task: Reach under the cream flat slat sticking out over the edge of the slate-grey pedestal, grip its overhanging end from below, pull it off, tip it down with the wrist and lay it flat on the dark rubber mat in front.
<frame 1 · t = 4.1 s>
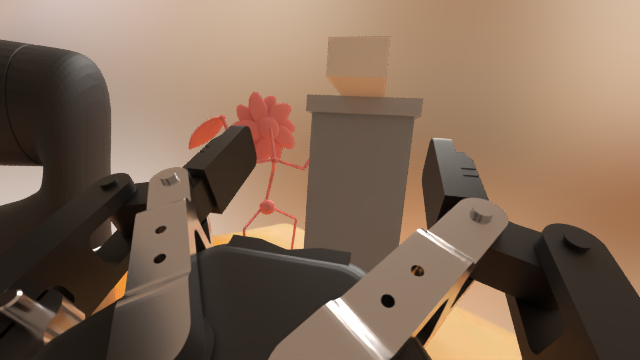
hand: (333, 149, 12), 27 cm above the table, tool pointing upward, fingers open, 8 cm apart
pedestal: (343, 343, 37), on the table
slat: (364, 101, 28), point 32 cm above the table, touching pedestal
figurine: (260, 275, 53), on the table
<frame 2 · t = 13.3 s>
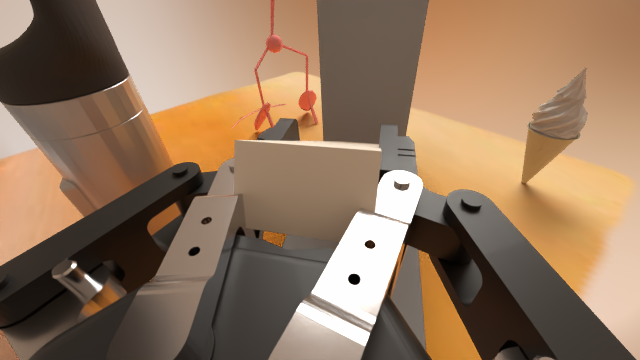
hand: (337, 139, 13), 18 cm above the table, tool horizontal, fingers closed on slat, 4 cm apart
pedestal: (363, 161, 42), on the table
mat: (343, 285, 26), on the table
ice cream cone: (522, 183, 36), on the table
slat: (345, 180, 18), point 13 cm above the table, tilted 30°, touching gripper
figurine: (281, 119, 56), on the table
when the fingers open (12 cm above the table, at t = 14.8 s): slat drops 6 cm, resting on mat.
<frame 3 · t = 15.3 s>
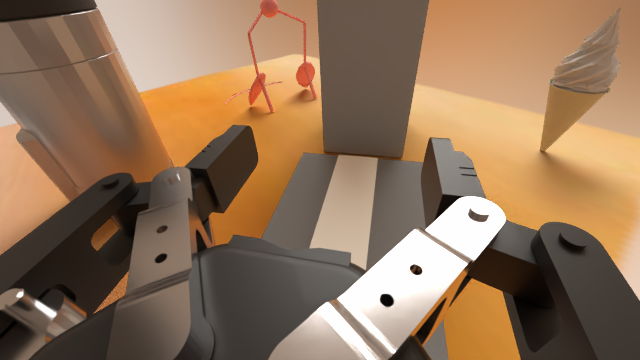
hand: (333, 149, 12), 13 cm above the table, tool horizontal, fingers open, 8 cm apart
pedestal: (365, 132, 39), on the table
mat: (343, 253, 22), on the table
ice cream cone: (541, 151, 33), on the table
slat: (340, 261, 20), point 1 cm above the table, touching mat
figurine: (277, 96, 52), on the table
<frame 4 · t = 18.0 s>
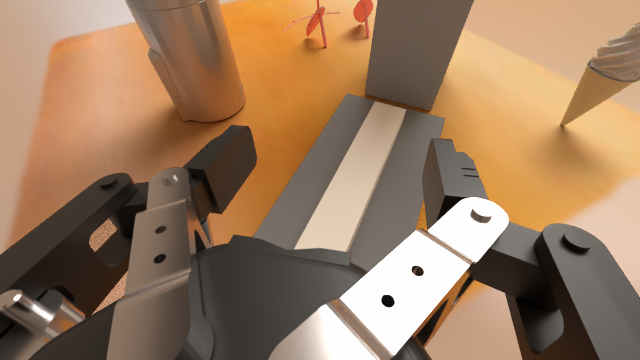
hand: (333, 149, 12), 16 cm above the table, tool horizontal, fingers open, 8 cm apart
pedestal: (406, 81, 43), on the table
mat: (362, 177, 31), on the table
ice cream cone: (561, 125, 36), on the table
slat: (358, 180, 29), point 1 cm above the table, touching mat
figurine: (332, 29, 55), on the table
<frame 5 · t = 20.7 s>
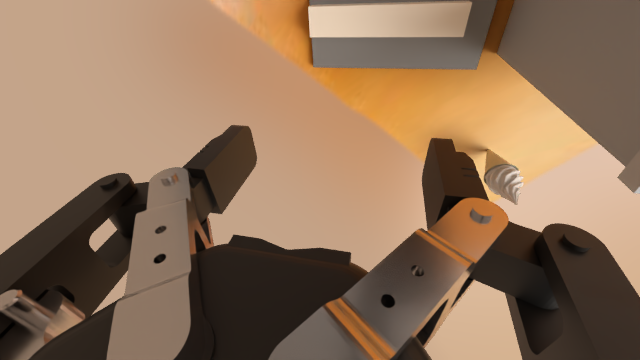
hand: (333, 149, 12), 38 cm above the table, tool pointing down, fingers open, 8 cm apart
pedestal: (559, 13, 36), on the table
mat: (395, 17, 40), on the table
ice cream cone: (488, 149, 50), on the table
slat: (384, 18, 40), point 1 cm above the table, touching mat
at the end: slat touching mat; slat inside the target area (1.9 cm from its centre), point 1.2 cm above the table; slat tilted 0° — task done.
